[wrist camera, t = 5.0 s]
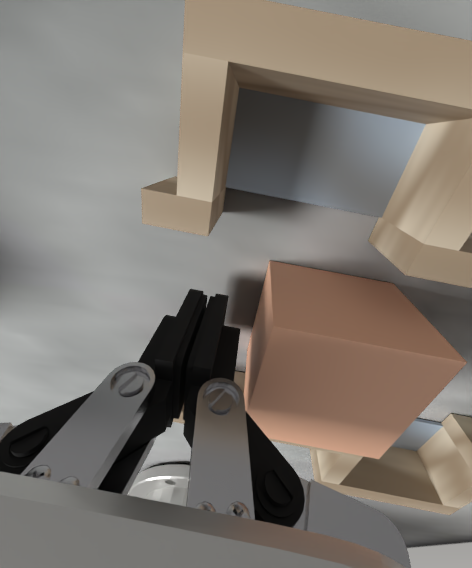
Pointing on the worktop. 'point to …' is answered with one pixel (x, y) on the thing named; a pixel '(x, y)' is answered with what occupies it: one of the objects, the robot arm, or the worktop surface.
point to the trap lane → (337, 175)
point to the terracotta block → (341, 361)
